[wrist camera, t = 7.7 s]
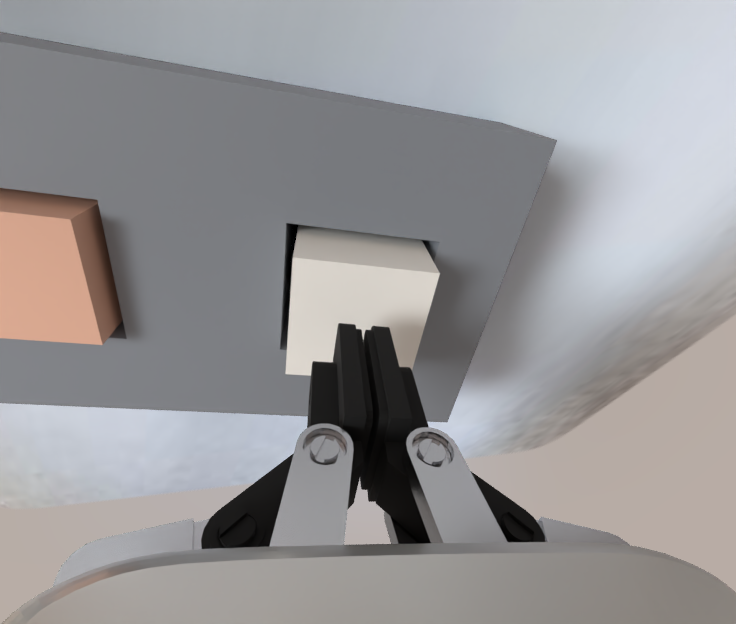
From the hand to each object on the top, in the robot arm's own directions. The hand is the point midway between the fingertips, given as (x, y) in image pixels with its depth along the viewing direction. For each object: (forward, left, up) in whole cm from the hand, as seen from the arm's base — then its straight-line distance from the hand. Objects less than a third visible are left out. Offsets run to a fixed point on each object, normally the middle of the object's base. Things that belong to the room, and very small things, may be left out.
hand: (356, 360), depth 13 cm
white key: (0, 0, -6) cm, 7 cm away
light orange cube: (+12, 0, -8) cm, 14 cm away
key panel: (+6, 0, -9) cm, 10 cm away
